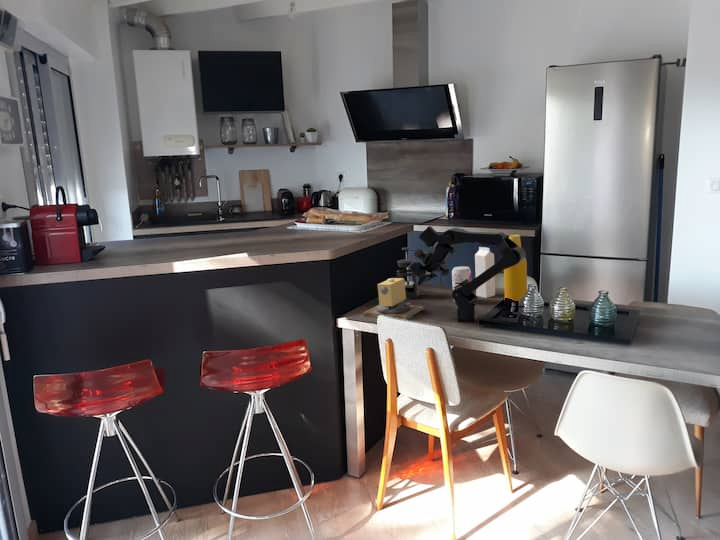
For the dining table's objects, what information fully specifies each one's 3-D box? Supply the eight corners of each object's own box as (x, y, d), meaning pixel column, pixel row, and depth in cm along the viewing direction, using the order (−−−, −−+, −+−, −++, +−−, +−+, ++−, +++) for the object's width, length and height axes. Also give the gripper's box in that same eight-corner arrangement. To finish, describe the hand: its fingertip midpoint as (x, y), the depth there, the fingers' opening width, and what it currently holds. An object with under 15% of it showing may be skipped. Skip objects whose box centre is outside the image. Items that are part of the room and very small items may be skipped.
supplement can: (472, 298, 252) (470, 265, 249) (472, 303, 244) (470, 269, 241) (453, 299, 253) (451, 266, 250) (453, 304, 245) (451, 270, 243)
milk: (486, 298, 251) (484, 249, 247) (476, 296, 256) (474, 247, 252) (495, 295, 255) (494, 246, 250) (485, 293, 260) (483, 245, 255)
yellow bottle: (516, 308, 232) (515, 238, 226) (500, 304, 239) (498, 236, 234) (532, 303, 236) (531, 234, 231) (515, 300, 244) (513, 233, 239)
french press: (424, 295, 263) (421, 246, 259) (410, 300, 257) (407, 250, 253) (405, 292, 272) (402, 245, 268) (391, 297, 266) (388, 248, 261)
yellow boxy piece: (406, 298, 242) (404, 275, 240) (391, 306, 231) (389, 282, 229) (394, 298, 245) (392, 275, 243) (378, 305, 235) (376, 282, 233)
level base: (423, 309, 240) (423, 300, 239) (405, 320, 227) (405, 310, 226) (382, 306, 251) (382, 297, 250) (363, 315, 238) (362, 306, 237)
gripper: (441, 242, 233) (421, 270, 241) (411, 241, 220) (392, 271, 227) (458, 260, 227) (437, 288, 235) (428, 260, 214) (408, 290, 222)
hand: (418, 284), depth 230 cm, fingers closed
